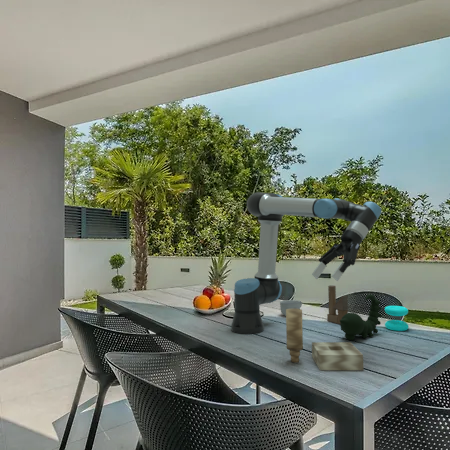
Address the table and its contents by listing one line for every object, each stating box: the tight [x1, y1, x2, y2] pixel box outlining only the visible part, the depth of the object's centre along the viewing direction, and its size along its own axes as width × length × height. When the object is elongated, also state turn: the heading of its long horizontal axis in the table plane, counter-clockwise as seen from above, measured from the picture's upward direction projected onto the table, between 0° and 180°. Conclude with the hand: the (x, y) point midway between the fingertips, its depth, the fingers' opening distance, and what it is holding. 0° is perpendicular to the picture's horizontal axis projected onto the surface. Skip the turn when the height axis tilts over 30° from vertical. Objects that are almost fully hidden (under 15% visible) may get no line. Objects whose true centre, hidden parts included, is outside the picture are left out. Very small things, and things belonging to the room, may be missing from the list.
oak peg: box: [285, 308, 304, 364], centre depth 132 cm, size 6×6×18 cm
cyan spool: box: [384, 305, 409, 332], centre depth 174 cm, size 10×10×10 cm
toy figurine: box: [339, 293, 383, 341], centre depth 161 cm, size 9×19×25 cm
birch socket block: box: [311, 341, 364, 371], centre depth 130 cm, size 14×14×5 cm
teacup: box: [279, 299, 303, 317], centre depth 205 cm, size 14×11×8 cm
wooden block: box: [326, 285, 349, 325], centre depth 187 cm, size 4×11×18 cm, turn 29°
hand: (324, 277), depth 141 cm, fingers open, 13 cm apart
